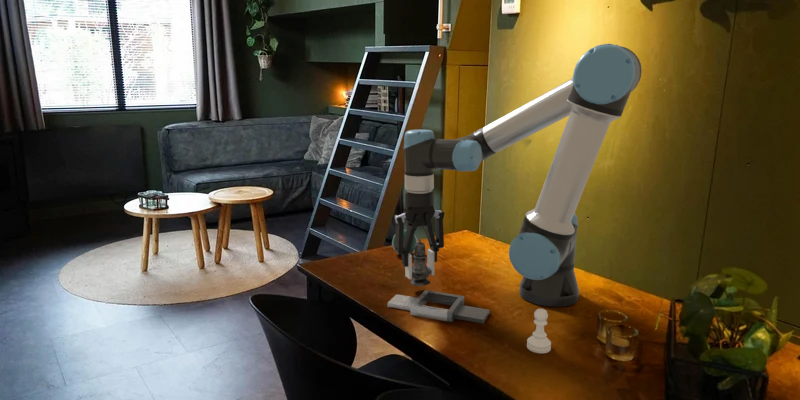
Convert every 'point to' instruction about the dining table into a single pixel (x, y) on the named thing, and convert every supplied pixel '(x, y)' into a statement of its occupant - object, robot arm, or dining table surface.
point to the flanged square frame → (436, 313)
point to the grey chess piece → (420, 266)
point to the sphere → (403, 241)
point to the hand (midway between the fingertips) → (419, 275)
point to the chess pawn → (539, 334)
